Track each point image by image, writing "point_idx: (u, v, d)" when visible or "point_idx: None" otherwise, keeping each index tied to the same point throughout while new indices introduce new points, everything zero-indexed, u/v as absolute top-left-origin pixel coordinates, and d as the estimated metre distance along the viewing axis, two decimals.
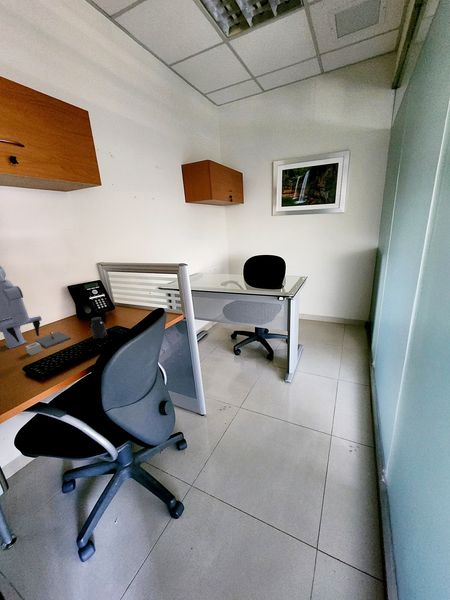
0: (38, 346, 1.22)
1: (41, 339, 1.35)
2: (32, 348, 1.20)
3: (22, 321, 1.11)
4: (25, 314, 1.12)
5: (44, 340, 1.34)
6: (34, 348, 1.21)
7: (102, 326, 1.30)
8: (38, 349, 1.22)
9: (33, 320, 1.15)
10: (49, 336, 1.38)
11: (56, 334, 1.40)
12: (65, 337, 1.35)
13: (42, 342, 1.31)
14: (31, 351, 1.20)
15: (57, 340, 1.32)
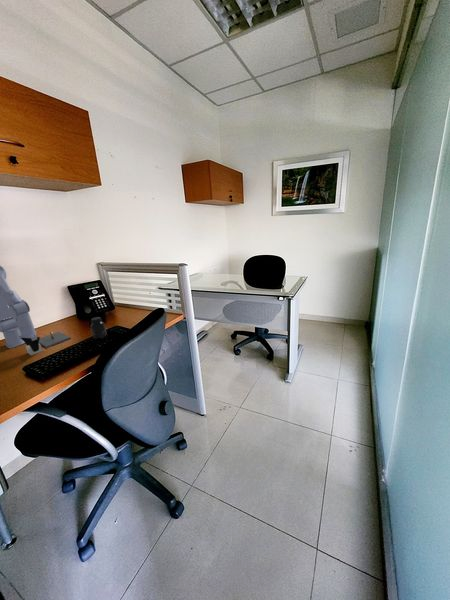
0: None
1: (41, 339, 1.35)
2: None
3: (21, 334, 1.18)
4: (22, 330, 1.16)
5: (44, 340, 1.34)
6: None
7: (102, 326, 1.30)
8: None
9: (27, 337, 1.16)
10: (49, 336, 1.38)
11: (56, 334, 1.40)
12: (65, 337, 1.35)
13: (42, 342, 1.31)
14: (31, 351, 1.20)
15: (57, 340, 1.32)
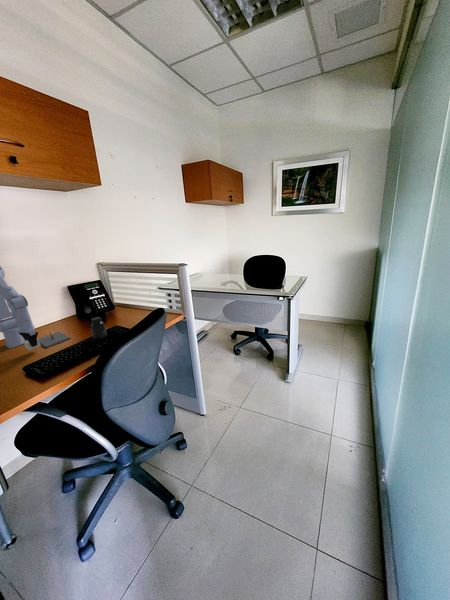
0: None
1: (41, 339, 1.35)
2: None
3: (19, 329, 1.17)
4: (20, 324, 1.15)
5: (44, 340, 1.34)
6: None
7: (102, 326, 1.30)
8: None
9: (25, 332, 1.16)
10: (49, 336, 1.38)
11: (56, 334, 1.40)
12: (65, 337, 1.35)
13: (42, 342, 1.31)
14: (29, 346, 1.19)
15: (57, 340, 1.32)
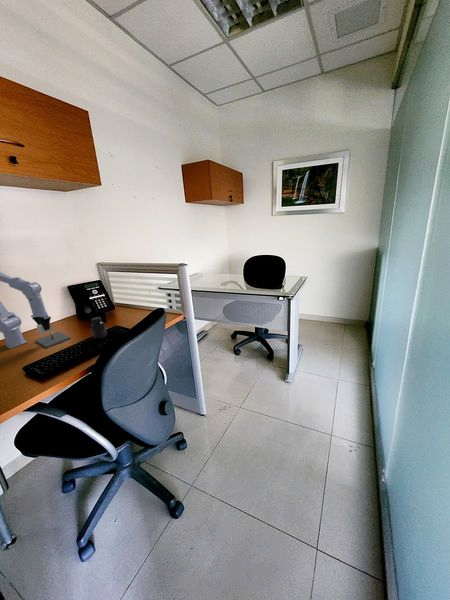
0: None
1: (41, 339, 1.35)
2: None
3: (33, 314, 1.25)
4: (35, 309, 1.24)
5: (44, 340, 1.34)
6: None
7: (102, 326, 1.30)
8: None
9: (39, 316, 1.24)
10: (49, 336, 1.38)
11: (56, 334, 1.40)
12: (65, 337, 1.35)
13: (42, 342, 1.31)
14: (43, 330, 1.27)
15: (57, 340, 1.32)
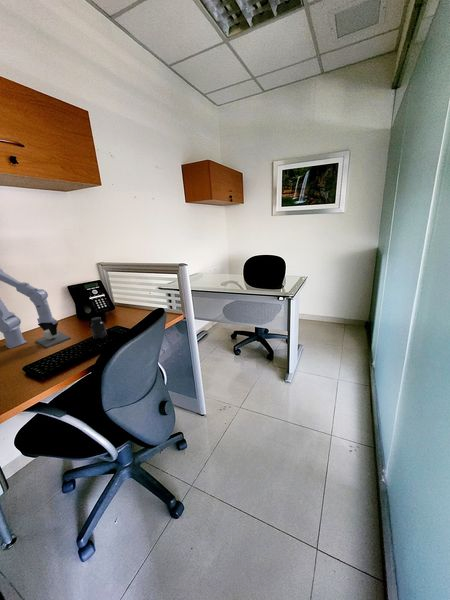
0: None
1: (41, 339, 1.35)
2: None
3: (40, 320, 1.29)
4: (42, 315, 1.28)
5: (44, 340, 1.34)
6: None
7: (102, 326, 1.30)
8: None
9: (47, 322, 1.29)
10: None
11: None
12: (65, 337, 1.35)
13: (42, 342, 1.31)
14: (50, 335, 1.32)
15: (57, 340, 1.32)
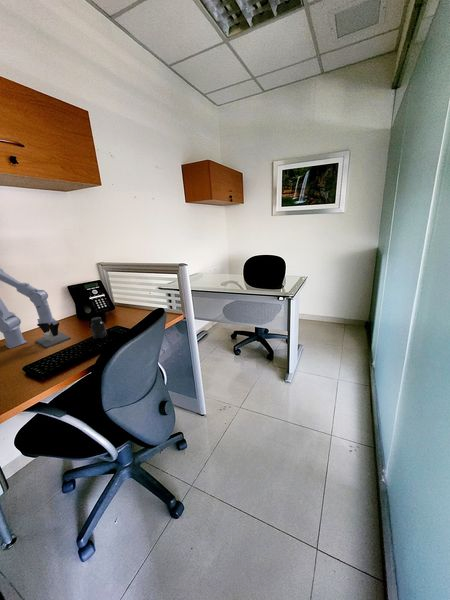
0: None
1: (41, 339, 1.35)
2: None
3: (40, 320, 1.29)
4: (43, 316, 1.28)
5: (44, 340, 1.34)
6: None
7: (102, 326, 1.30)
8: None
9: (48, 322, 1.29)
10: None
11: None
12: (65, 337, 1.35)
13: (42, 342, 1.31)
14: (51, 337, 1.32)
15: (57, 340, 1.32)
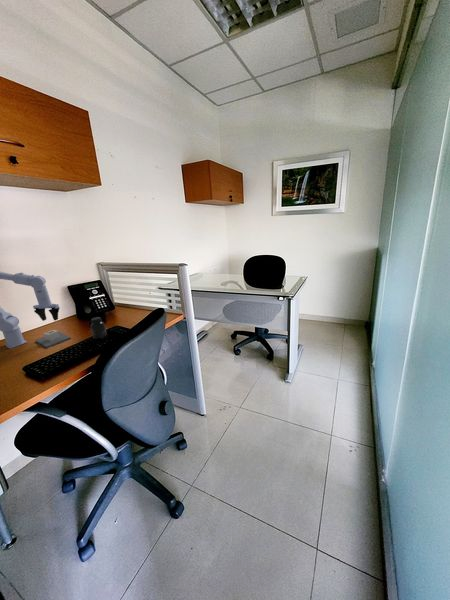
0: (56, 332, 1.35)
1: (41, 339, 1.35)
2: (52, 334, 1.32)
3: (40, 305, 1.32)
4: (43, 300, 1.31)
5: (44, 340, 1.34)
6: (53, 334, 1.33)
7: (102, 326, 1.30)
8: (56, 335, 1.35)
9: (49, 307, 1.33)
10: None
11: None
12: (65, 337, 1.35)
13: (42, 342, 1.31)
14: (51, 337, 1.32)
15: (57, 340, 1.32)
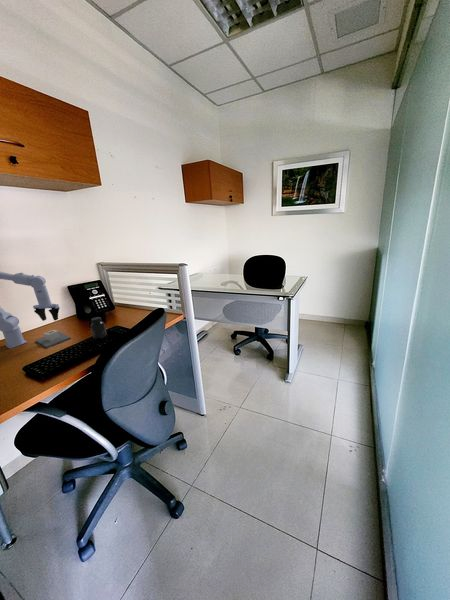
0: (56, 332, 1.35)
1: (41, 339, 1.35)
2: (52, 334, 1.32)
3: (40, 305, 1.32)
4: (43, 300, 1.31)
5: (44, 340, 1.34)
6: (53, 334, 1.33)
7: (102, 326, 1.30)
8: (56, 335, 1.35)
9: (49, 307, 1.33)
10: None
11: None
12: (65, 337, 1.35)
13: (42, 342, 1.31)
14: (51, 337, 1.32)
15: (57, 340, 1.32)
